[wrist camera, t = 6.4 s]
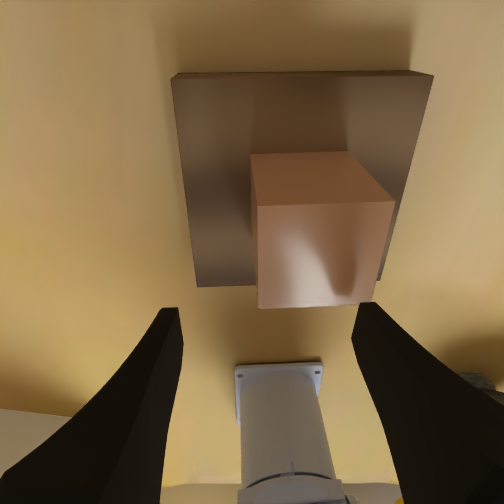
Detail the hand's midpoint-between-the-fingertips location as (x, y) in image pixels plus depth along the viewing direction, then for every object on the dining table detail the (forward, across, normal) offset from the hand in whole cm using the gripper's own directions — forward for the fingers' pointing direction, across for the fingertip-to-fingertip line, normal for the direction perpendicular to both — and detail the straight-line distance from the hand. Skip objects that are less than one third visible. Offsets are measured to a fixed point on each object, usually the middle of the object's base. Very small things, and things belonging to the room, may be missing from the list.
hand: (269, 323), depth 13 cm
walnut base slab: (+10, -2, -2) cm, 10 cm away
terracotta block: (+7, -2, -2) cm, 8 cm away
